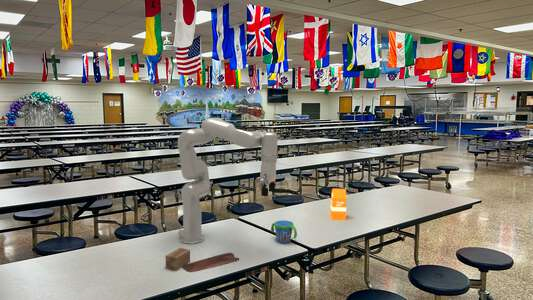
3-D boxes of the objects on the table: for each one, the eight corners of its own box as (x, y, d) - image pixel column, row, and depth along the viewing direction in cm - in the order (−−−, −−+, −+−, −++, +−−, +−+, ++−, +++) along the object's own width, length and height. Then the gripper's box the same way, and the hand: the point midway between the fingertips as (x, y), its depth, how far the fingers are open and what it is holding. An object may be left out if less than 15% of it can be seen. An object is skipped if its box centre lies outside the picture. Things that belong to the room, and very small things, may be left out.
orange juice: (345, 220, 233) (347, 190, 231) (331, 220, 234) (333, 189, 231) (343, 216, 241) (344, 187, 239) (330, 216, 241) (331, 187, 239)
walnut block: (165, 268, 160) (165, 255, 160) (179, 259, 169) (179, 247, 169) (176, 271, 158) (176, 258, 157) (190, 262, 167) (190, 249, 166)
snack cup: (266, 239, 197) (266, 221, 195) (278, 235, 204) (279, 217, 203) (288, 248, 186) (288, 229, 185) (300, 242, 194) (301, 224, 192)
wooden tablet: (187, 271, 155) (179, 260, 163) (187, 276, 155) (179, 265, 163) (241, 258, 170) (231, 249, 178) (240, 263, 170) (230, 253, 178)
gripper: (268, 155, 180) (267, 189, 182) (254, 160, 164) (254, 197, 166) (282, 156, 177) (281, 190, 180) (270, 161, 161) (269, 198, 164)
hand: (268, 193), depth 173 cm, fingers open, 9 cm apart
